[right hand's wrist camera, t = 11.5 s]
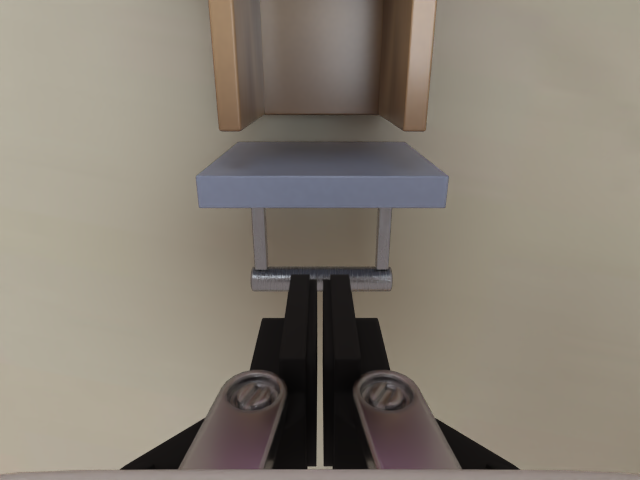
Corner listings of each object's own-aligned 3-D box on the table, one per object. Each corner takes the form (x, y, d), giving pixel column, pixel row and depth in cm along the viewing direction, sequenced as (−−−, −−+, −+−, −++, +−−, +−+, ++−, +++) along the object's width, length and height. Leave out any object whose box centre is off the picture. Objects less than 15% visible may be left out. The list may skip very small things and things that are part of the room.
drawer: (397, 260, 25) (431, 341, 18) (245, 260, 25) (212, 341, 18) (441, -359, 16) (553, -761, 8) (203, -359, 16) (94, -761, 8)
